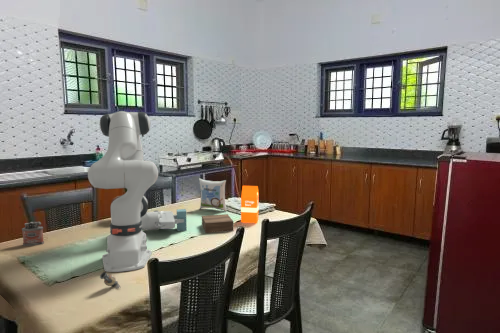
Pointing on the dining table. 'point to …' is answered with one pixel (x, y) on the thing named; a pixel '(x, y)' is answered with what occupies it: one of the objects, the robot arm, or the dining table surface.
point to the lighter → (32, 234)
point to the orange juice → (249, 204)
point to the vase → (109, 280)
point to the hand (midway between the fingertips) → (183, 218)
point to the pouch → (212, 194)
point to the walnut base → (217, 223)
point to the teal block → (183, 218)
